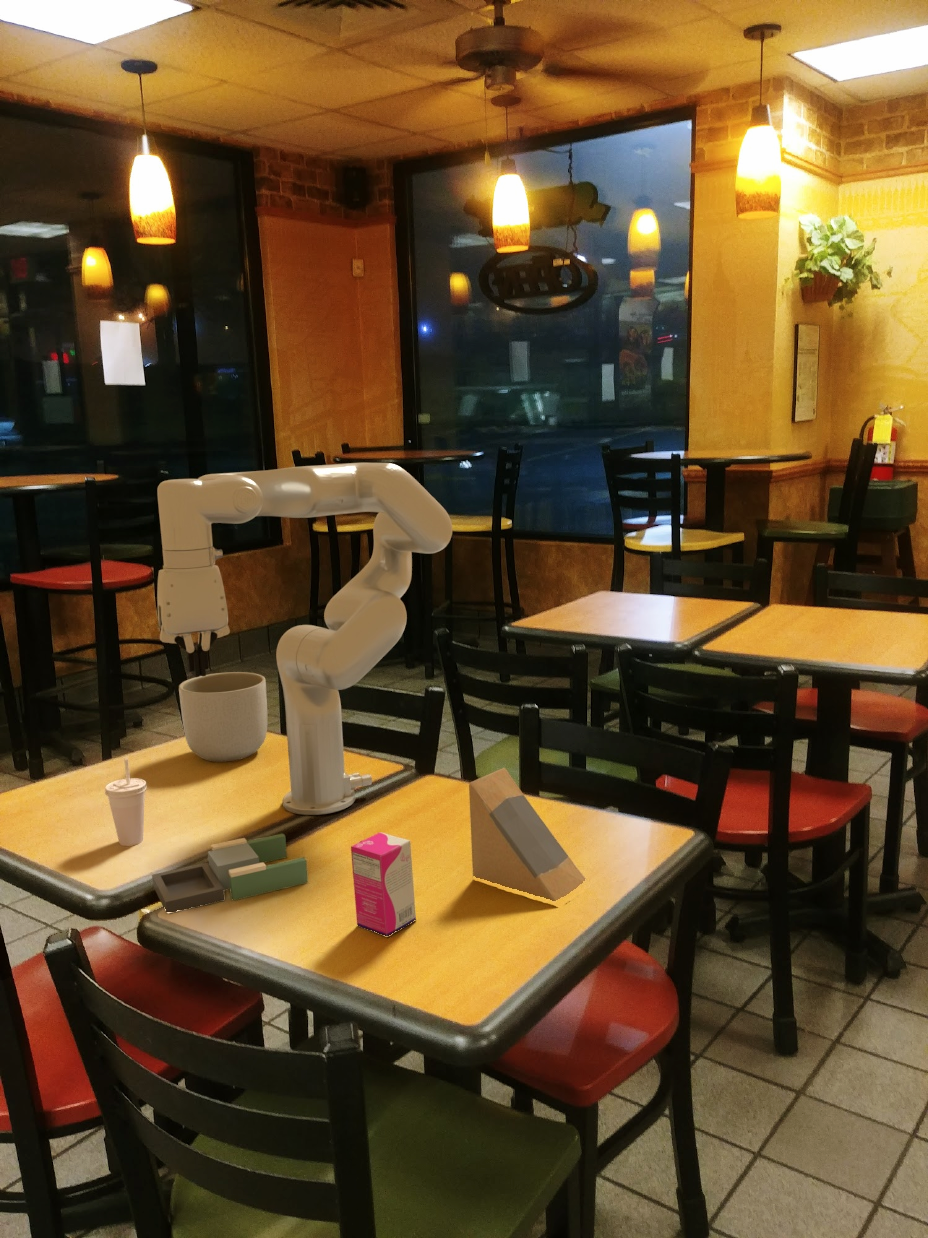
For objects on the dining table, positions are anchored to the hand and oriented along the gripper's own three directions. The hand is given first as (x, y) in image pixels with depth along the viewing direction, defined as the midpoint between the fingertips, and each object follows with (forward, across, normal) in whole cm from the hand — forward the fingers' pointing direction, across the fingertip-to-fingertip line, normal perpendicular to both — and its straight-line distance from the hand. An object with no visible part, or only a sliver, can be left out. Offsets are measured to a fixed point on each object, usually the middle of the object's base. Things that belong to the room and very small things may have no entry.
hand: (198, 674), depth 162 cm
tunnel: (+27, -2, +19) cm, 33 cm away
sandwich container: (+28, -36, +42) cm, 61 cm away
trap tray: (+27, +8, +19) cm, 34 cm away
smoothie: (+27, +12, -5) cm, 30 cm away
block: (+27, +1, +18) cm, 32 cm away
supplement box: (+27, -13, +42) cm, 52 cm away
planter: (+27, -13, -41) cm, 51 cm away
